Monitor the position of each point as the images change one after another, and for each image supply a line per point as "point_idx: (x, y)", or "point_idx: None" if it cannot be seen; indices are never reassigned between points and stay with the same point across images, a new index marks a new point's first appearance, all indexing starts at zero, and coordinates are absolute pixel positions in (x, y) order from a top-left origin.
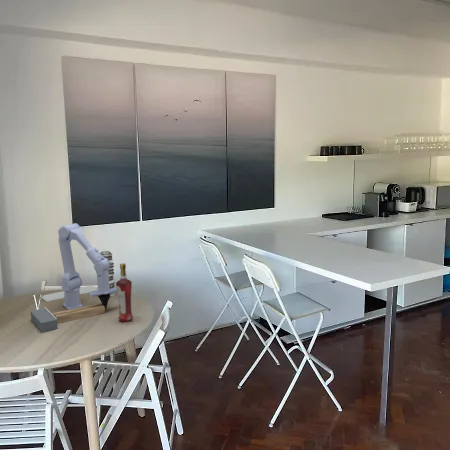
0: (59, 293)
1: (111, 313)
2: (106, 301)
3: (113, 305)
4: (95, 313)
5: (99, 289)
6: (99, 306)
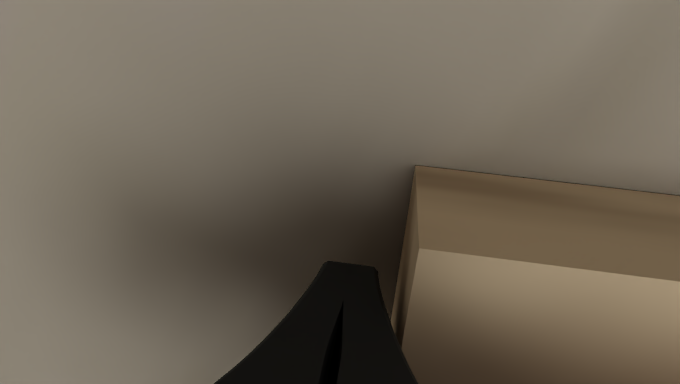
0: None
1: (323, 27)
2: (300, 369)
3: (132, 366)
4: (645, 207)
5: None
6: (529, 322)
